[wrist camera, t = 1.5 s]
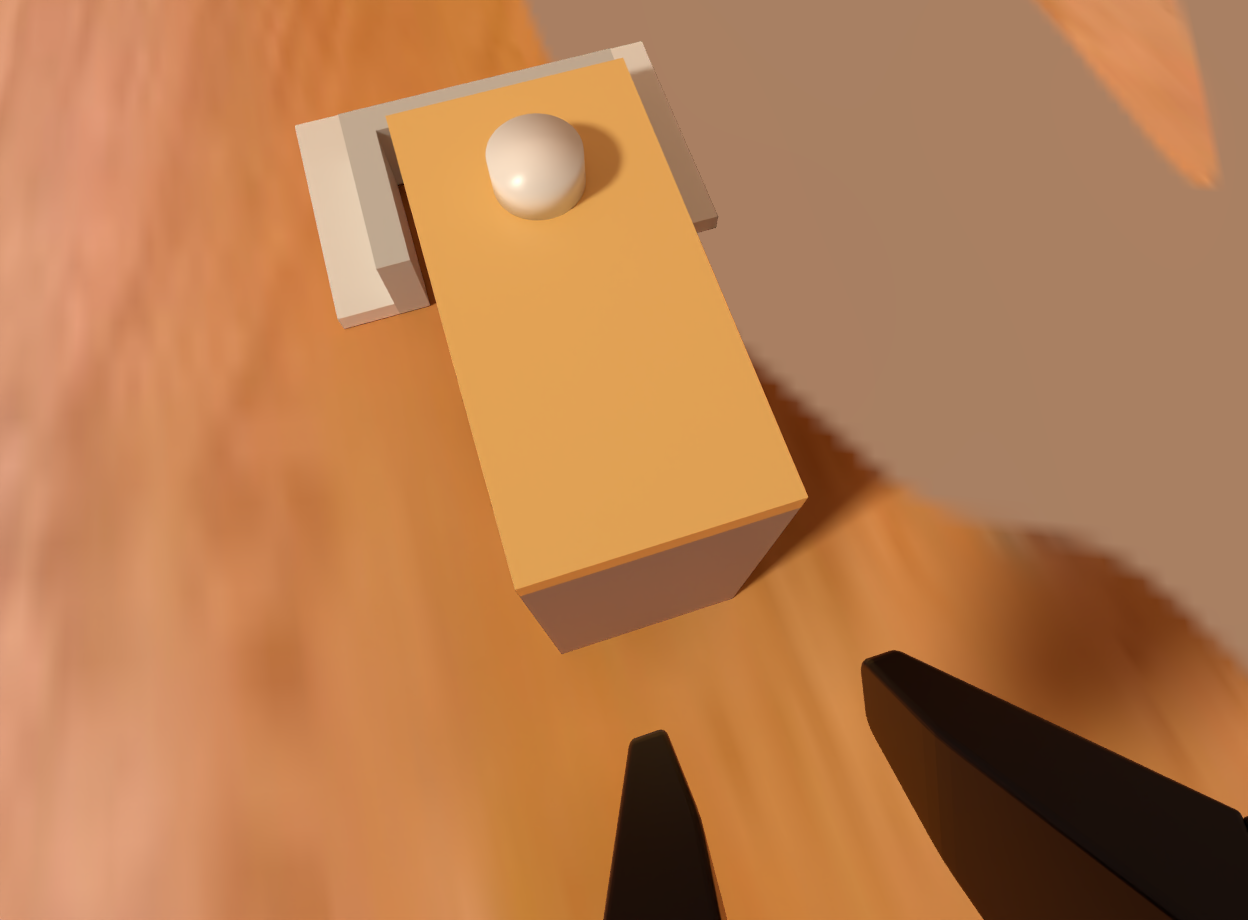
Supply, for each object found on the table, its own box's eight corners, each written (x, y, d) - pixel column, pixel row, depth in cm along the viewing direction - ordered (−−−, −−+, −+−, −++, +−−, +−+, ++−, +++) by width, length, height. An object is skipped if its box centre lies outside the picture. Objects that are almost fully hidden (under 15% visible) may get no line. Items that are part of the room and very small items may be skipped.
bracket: (715, 227, 26) (725, 176, 24) (344, 328, 25) (314, 285, 22) (641, 55, 29) (642, -7, 26) (301, 138, 27) (271, 81, 25)
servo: (732, 598, 22) (819, 481, 12) (561, 653, 21) (508, 580, 11) (624, 304, 25) (622, 23, 15) (473, 346, 24) (373, 84, 15)
